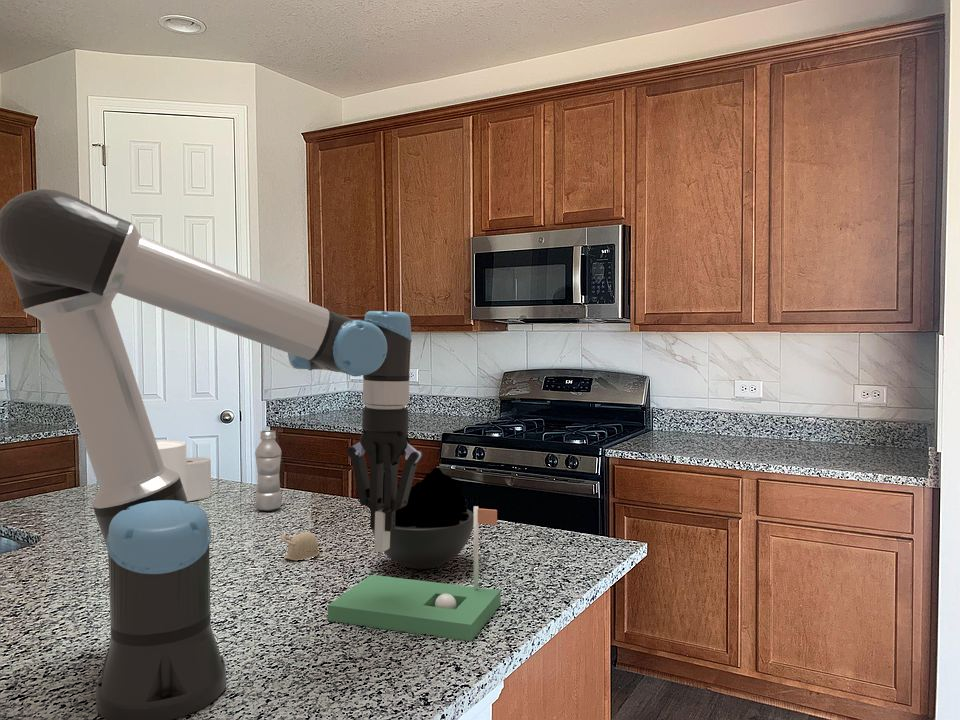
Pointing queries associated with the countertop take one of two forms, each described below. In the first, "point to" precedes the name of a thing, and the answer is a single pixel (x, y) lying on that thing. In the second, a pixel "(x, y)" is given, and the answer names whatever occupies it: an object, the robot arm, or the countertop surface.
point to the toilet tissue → (198, 478)
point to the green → (420, 601)
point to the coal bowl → (430, 523)
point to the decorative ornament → (301, 546)
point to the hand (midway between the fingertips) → (382, 549)
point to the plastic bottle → (268, 472)
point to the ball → (445, 601)
